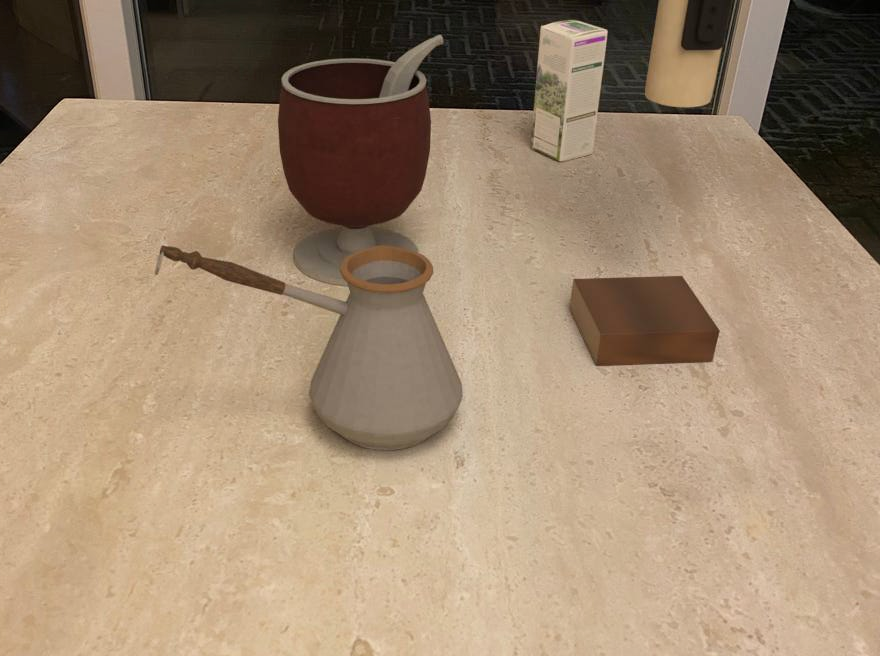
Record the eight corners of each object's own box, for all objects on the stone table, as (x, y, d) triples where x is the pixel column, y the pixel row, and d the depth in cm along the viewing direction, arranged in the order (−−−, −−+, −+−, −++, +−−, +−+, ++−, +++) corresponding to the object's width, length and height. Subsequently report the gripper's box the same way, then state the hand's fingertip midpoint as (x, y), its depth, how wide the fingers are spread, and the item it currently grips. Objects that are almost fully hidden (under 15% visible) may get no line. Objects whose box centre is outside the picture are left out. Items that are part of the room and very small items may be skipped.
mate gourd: (314, 301, 92) (305, 74, 79) (267, 241, 101) (252, 31, 89) (465, 272, 97) (478, 54, 84) (406, 217, 107) (410, 16, 94)
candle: (661, 83, 87) (682, -45, 81) (721, 96, 84) (748, -36, 78) (632, 99, 83) (652, -34, 77) (695, 112, 81) (720, -24, 74)
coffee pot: (448, 377, 81) (457, 200, 72) (473, 461, 72) (486, 271, 63) (183, 391, 79) (157, 210, 70) (174, 479, 70) (143, 285, 61)
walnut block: (676, 305, 92) (682, 275, 90) (712, 361, 84) (720, 330, 82) (569, 308, 91) (573, 278, 89) (595, 366, 83) (600, 334, 81)
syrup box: (594, 154, 123) (611, 28, 114) (558, 163, 120) (572, 35, 111) (563, 140, 126) (577, 17, 117) (527, 149, 124) (539, 23, 115)
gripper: (841, -230, 63) (772, 68, 74) (747, -242, 77) (701, 12, 88) (725, -232, 63) (673, 69, 74) (651, -244, 76) (617, 12, 87)
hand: (689, 35), depth 81 cm, fingers closed on candle, 5 cm apart
